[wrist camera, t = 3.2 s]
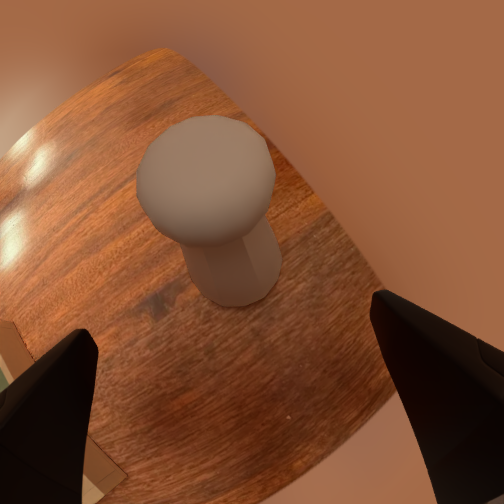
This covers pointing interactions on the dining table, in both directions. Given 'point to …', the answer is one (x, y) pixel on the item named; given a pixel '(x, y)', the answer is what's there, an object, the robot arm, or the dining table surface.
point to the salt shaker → (214, 205)
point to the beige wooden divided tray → (96, 461)
